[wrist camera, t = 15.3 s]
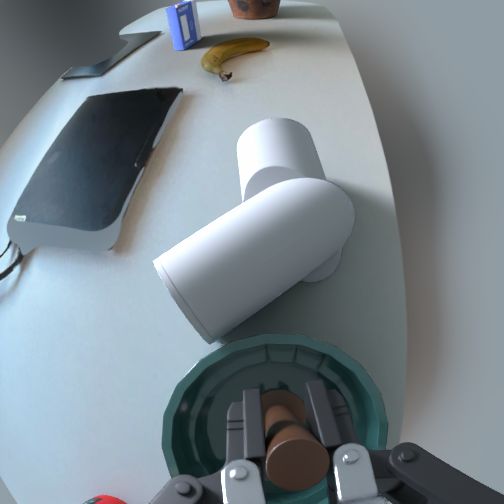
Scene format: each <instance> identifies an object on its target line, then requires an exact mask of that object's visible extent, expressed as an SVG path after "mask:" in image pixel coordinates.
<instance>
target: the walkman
mask: <svg viewBox="0 0 504 504" xmlns="http://www.w3.org/2000/svg"><path fill="white" fill-rule="evenodd" d="M166 13H167V17H168V22H169V27H170V31H171V36H172V40H173V44H174V49H175V50H185V49H187V48H188V47H190V46H191V45H193V44H194V43H196V42H197V41H198V40H200V39H202V38H201V32H200V26H199V20H198V13H197V7H196V1H195V0H184V1H182V2H180V3H178V4H176V5H173V6H171V7H169V8H167V9H166Z"/></svg>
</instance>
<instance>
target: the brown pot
mask: <svg viewBox="0 0 504 504" xmlns="http://www.w3.org/2000/svg"><path fill="white" fill-rule="evenodd" d="M228 2H229V4H230V7H231V10H232V12H233V16H234V17H236V18H241V19H261V18H268V17H272V16H275V15H277V13H278V9H279V4H280V0H228Z"/></svg>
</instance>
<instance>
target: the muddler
mask: <svg viewBox="0 0 504 504" xmlns="http://www.w3.org/2000/svg"><path fill="white" fill-rule="evenodd" d="M261 401H262V408H263V417H264V427H265V437H266V473H267V476H268V478H269V479H270V481H271V482H272V483H273V484H274V485H276V486H277V487H279V488H281V489H284V490H287V491H302V490H306V489H309V488H311V487H313V486H315V485H316V484H318V483H319V482H320V481H321V480H322V479H323V478H324V477H325V475H326V474H327V472H328V469H329V465H330V459H329V454H328V452H327V450H326V449H325V447H324V446H323V445H322V444H321V443H320V442H319V441H318V440H317V439H316V438H315V437H314V436H313V435H312V434H311V432H310V431H309V430H308V429H307V428H306V427H305V426H304V425H305V422H306V414H305V406H304V403H303V401H302V400H301V399H300V398H299V397H298V396H297V395H296V394H294V393H292V392H290V391H288V390H284V389H272V390H268V391H266V392H264V393H262V394H261Z"/></svg>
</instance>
